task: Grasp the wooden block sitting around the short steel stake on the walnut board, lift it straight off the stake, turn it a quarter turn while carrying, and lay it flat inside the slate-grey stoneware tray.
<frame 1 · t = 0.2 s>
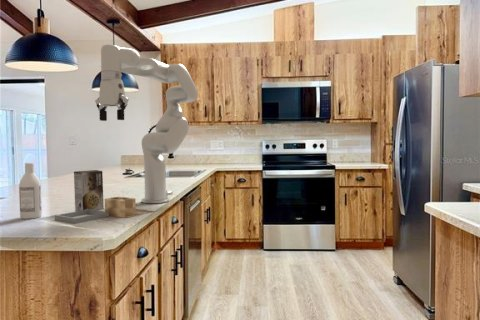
hand: (111, 120, 153), 36 cm above the countertop, tool pointing down, fingers open, 9 cm apart
wooden block: (120, 214, 142), point 1 cm above the countertop, touching board
tray: (82, 219, 136), on the countertop
stake: (120, 216, 142), resting on board
coffee box: (89, 211, 153), on the countertop
bath foam: (31, 217, 141), on the countertop
board: (130, 214, 145), on the countertop
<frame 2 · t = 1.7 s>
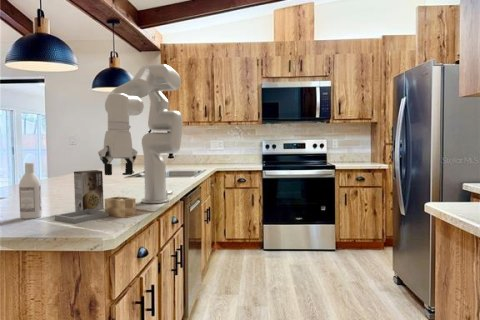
hand: (119, 174, 141), 16 cm above the countertop, tool pointing down, fingers open, 9 cm apart
nothing on the countertop moved.
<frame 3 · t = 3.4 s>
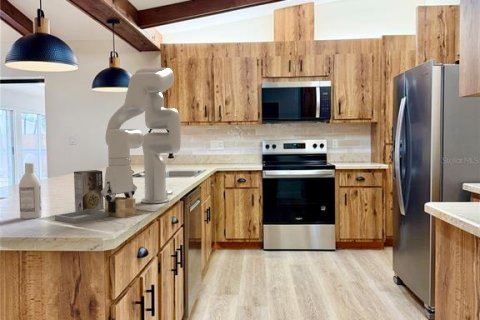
hand: (120, 210, 142), 2 cm above the countertop, tool pointing down, fingers open, 6 cm apart
nothing on the countertop moved.
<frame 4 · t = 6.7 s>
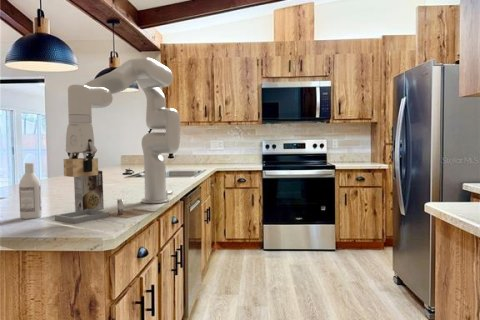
hand: (81, 171, 135), 17 cm above the countertop, tool pointing down, fingers closed on wooden block, 6 cm apart
wooden block: (81, 175, 135), point 16 cm above the countertop, touching gripper
everything else where it was.
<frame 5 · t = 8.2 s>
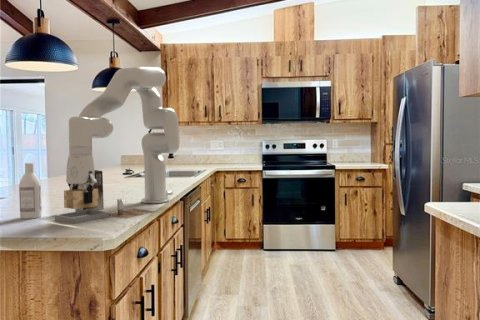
hand: (81, 202, 136), 6 cm above the countertop, tool pointing down, fingers closed on wooden block, 6 cm apart
wooden block: (81, 206, 136), point 5 cm above the countertop, touching gripper
everything else where it was.
when the fingers open (4 cm above the countertop, at t = 9.6 s): wooden block drops 2 cm, resting on tray.
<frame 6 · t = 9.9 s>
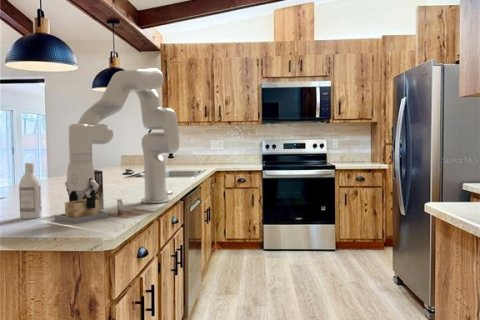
hand: (82, 207, 136), 4 cm above the countertop, tool pointing down, fingers open, 9 cm apart
wooden block: (82, 218, 136), resting on tray
everything else where it was.
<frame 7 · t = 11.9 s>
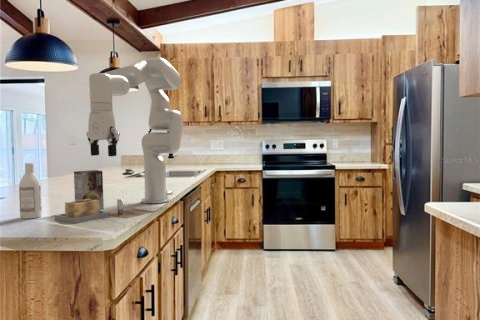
hand: (103, 155, 139), 23 cm above the countertop, tool pointing down, fingers open, 9 cm apart
nothing on the countertop moved.
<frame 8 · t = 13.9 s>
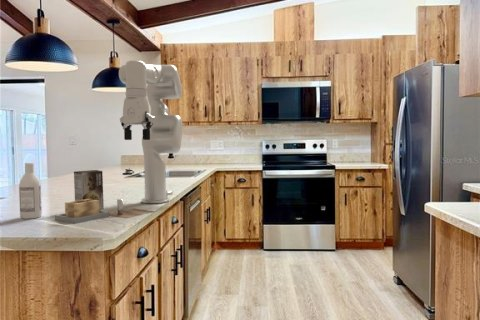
hand: (137, 139, 145), 28 cm above the countertop, tool pointing down, fingers open, 9 cm apart
nothing on the countertop moved.
at the end: wooden block inside the target area on the tray (0.1 cm from its centre), point 0.5 cm above the tray's base; wooden block tilted 0°; the gripper is holding nothing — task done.
